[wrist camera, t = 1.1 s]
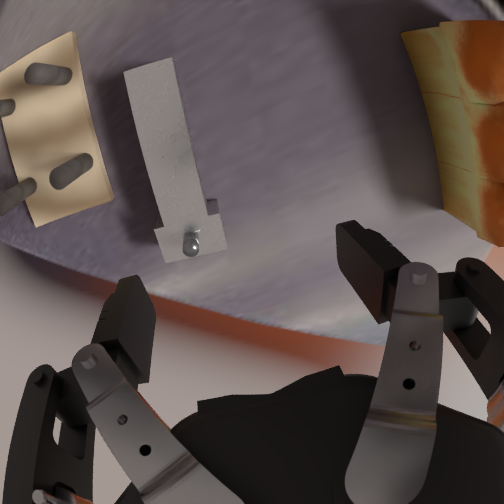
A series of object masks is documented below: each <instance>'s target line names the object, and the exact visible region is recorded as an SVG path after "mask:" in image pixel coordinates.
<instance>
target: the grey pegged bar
mask: <svg viewBox="0 0 504 504" xmlns="http://www.w3.org/2000/svg"><path fill="white" fill-rule="evenodd" d="M124 77H125V81H126V86H127V91H128V95H129V100H130V104H131V109H132V113H133V117H134V121H135V125H136V130H137V134H138V137H139V141H140V145H141V149H142V153H143V157H144V160H145V164H146V167H147V171H148V175H149V178H150V182H151V185H152V188H153V192H154V195H155V198H156V202H157V205H158V208H159V212H160V213H159V216H158V218H157V221H156V224H155V227H154V231H155V234H156V237H157V240H158V243H159V246H160V249H161V251H162V254H163V257H164V260H165V263H170V262H174V261H178V260H183V259H187V258H191V257H195V256H199V255H204V254H208V253H212V252H217V251H221V250H225V249H228V247H227V242H226V236H225V231H224V227H223V223H222V218H221V214H220V210H219V206H218V201H217V199H215V200H211V201H207V199H206V195H205V191H204V187H203V182H202V178H201V174H200V170H199V166H198V161H197V157H196V153H195V148H194V144H193V140H192V135H191V131H190V126H189V122H188V117H187V113H186V108H185V104H184V99H183V94H182V89H181V85H180V80H179V75H178V70H177V65H176V63H175V61H174V60H173V58H172V57H171V58H167V59H164V60H160V61H157V62H153V63H150V64H146V65H143V66H140V67H137V68H134V69H131V70H128V71H125V72H124Z"/></svg>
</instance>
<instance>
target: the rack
mask: <svg viewBox="0 0 504 504" xmlns="http://www.w3.org/2000/svg"><path fill="white" fill-rule="evenodd" d="M0 117H2V122H3V127H4V131H5V135H6V139H7V143H8V147H9V151H10V155H11V158H12V162H13V165H14V168H15V172H16V175H17V178H18V181H19V183H18V184H16V185H15V186H13V187H12V188H10V189H8V190H7V191H5V192H4V193H2V194H1V195H0V216H4V215H5V214H6V213H7V212H9V211H10V210H11V209H13V208H14V207H15V206H17V205H18V204H19V203H21V202H22V201H23V200H25V201H26V204H27V206H28V209H29V212H30V214H31V217H32V219H33V222H34V224H35V227H38V226H41V225H43V224H46V223H49V222H51V221H54V220H57V219H59V218H62V217H65V216H68V215H71V214H73V213H76V212H79V211H82V210H85V209H88V208H91V207H94V206H97V205H100V204H103V203H106V202H109V201H111V200H112V199H113V198H114V194H113V191H112V188H111V185H110V182H109V179H108V175H107V172H106V169H105V166H104V162H103V159H102V155H101V152H100V148H99V145H98V141H97V137H96V133H95V130H94V126H93V122H92V118H91V113H90V109H89V105H88V100H87V96H86V91H85V86H84V81H83V76H82V70H81V65H80V59H79V53H78V46H77V39H76V33H74V32H72V31H70V32H68V33H66V34H64V35H62V36H60V37H58V38H56V39H54V40H52V41H50V42H49V43H47V44H45V45H43V46H41V47H40V48H38V49H36V50H34V51H33V52H31V53H29V54H28V55H26V56H25V57H23V58H21V59H20V60H18V61H17V62H15V63H14V64H12V65H11V66H9V67H8V68H6V69H5V70H3V71H2V72H1V73H0Z"/></svg>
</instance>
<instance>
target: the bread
mask: <svg viewBox="0 0 504 504" xmlns="http://www.w3.org/2000/svg"><path fill="white" fill-rule="evenodd" d="M400 35H401V37H402V39H403V42H404V44H405V47H406V50H407V52H408V55H409V58H410V60H411V63H412V66H413V69H414V72H415V75H416V78H417V81H418V84H419V87H420V91H421V94H422V98H423V101H424V105H425V108H426V112H427V116H428V120H429V124H430V129H431V133H432V138H433V142H434V147H435V152H436V158H437V164H438V170H439V176H440V183H441V190H442V198H443V208H444V211H446V212H448V213H449V214H451V215H452V216H454V217H455V218H457V219H459V220H460V221H462V222H463V223H465V224H466V225H468V226H469V227H471V228H472V229H474V230H475V231H476V233H477V237H478V238H480V239H483V240H485V241H487V242H489V243H492V244H494V245H496V246H498V247H504V21H498V20H467V21H448V22H440V25H439V27H432V28H426V29H419V30H413V31H408V32H402V33H400Z"/></svg>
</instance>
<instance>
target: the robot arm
mask: <svg viewBox="0 0 504 504" xmlns="http://www.w3.org/2000/svg"><path fill="white" fill-rule="evenodd" d="M336 245H337V260H338V265H339V268H340V270H341V272H342V273H343V275H344V276H345V277H346V279H347V280H348V282H349V283H350V284H351V286H352V287H353V289H354V290H355V291H356V293H357V294H358V296H359V297H360V298H361V300H362V301H363V303H364V304H365V306H366V307H367V309H368V310H369V311H370V313H371V314H372V316H373V317H374V319H375V320H376V322H377V323H378V325H379V324H381V323H384V322H386V321H389V322H390V328H389V333H388V338H387V342H386V347H385V352H384V356H383V360H382V364H381V368H380V372H379V376H378V378H377V377H374V376H369V375H363V374H345V375H344V374H343V372H342V370H341V368H340V366H339V365H338V366H335V367H332V368H329V369H326V370H324V371H320V372H317V373H314V374H310V375H307V376H305V377H303V378H301V379H299V380H297V381H295V382H293V383H292V384H290V385H288V386H286V387H284V388H282V389H280V390H278V391H276V392H274V393H271V394H261V395H228V396H223V397H218V398H213V399H207V400H201V401H197V403H198V404H197V405H198V412H196V413H193V414H191V415H190V416H188V417H186V418H185V419H183V420H181V421H180V422H179V423H178V424H176V425H175V426H174V427H173V428H172V429H170V428H169V426H167V424H166V423H165V422H164V421H163V420H162V419H161V418H160V417H159V416H158V414H157V413H156V412H155V411H154V410H153V409H152V407H151V406H150V405H149V404H148V403H147V402H146V400H145V399H144V398H143V397H142V396H141V394H140V393H139V392H138V391H137V389H138V384H142V383H148V382H149V376H150V366H151V355H152V347H153V338H154V330H155V323H156V313H155V309H154V306H153V303H152V302H151V299H150V297H149V295H148V293H147V291H146V289H145V287H144V285H143V283H142V281H141V279H140V277H139V276H138V275H134V276H130V277H126V278H122V279H120V280H119V282H118V284H117V287H116V290H115V293H112V294H111V295H110V296H109V298H108V299H107V300H106V301H105V303H104V305H103V308H102V311H101V314H100V317H99V321H98V323H97V326H96V329H95V332H94V335H93V338H92V341H91V344H90V345H87V346H85V347H83V348H82V349H80V350H79V351H78V352H77V353H76V355H75V356H74V358H73V360H72V367H69V368H67V369H65V370H63V371H60V372H58V373H57V372H56V371H55V370H54V369H53V368H52V366H50V365H47V364H45V365H41V366H39V367H37V368H36V369H35V370H34V371H33V372H32V373H31V374H30V376H29V378H28V380H27V383H26V386H25V389H24V393H23V396H22V399H21V403H20V407H19V410H18V414H17V418H16V422H15V426H14V430H13V435H12V440H11V444H10V449H9V455H8V461H7V467H6V474H5V482H4V491H3V502H2V504H93V499H92V498H93V495H92V494H93V493H92V491H93V490H92V489H93V483H92V482H93V457H94V441H95V429H96V427H97V429H98V431H99V433H100V434H101V436H102V437H103V439H104V441H105V443H106V444H107V446H108V447H109V449H110V450H111V452H112V454H113V455H114V456H115V458H116V460H117V461H118V463H119V464H120V465H121V467H122V468H123V470H124V471H125V473H126V474H127V476H128V477H129V478H130V480H131V481H132V482H131V483H130V484H129V486H128V487H127V488H126V490H125V491H124V492H123V493H122V495H121V496H120V497H119V498H118V500H117V501H116V502H115V503H114V504H504V281H503V280H502V279H501V278H500V277H499V276H498V275H497V274H496V273H495V272H494V271H493V270H492V269H491V268H490V267H489V266H488V265H486V264H485V263H484V262H483V261H481V260H479V259H476V258H469V257H467V258H462V259H460V260H459V261H458V262H457V265H456V269H455V272H446V273H437V271H436V270H435V269H434V268H433V267H431V266H430V265H428V264H425V263H421V262H410V261H409V260H408V259H407V258H406V257H405V256H404V255H403V254H402V253H401V252H400V251H399V250H398V249H397V248H395V247H394V246H393V245H392V244H391V243H390V242H389V241H387V239H386V238H384V237H383V236H382V235H381V234H380V233H378V232H376V231H373V230H371V229H364V228H363V227H362V226H361V225H360V224H359V223H358V222H357V221H355V220H351V221H347V222H343V223H339V224H337V225H336ZM478 311H479V312H480V313H481V314H482V315H483V316H484V317H485V319H486V320H487V321H488V323H489V324H490V327H491V335H490V333H489V332H488V331H487V330H486V328H485V327H484V326H483V325H482V323H481V322H480V321H479V320H478V318H477V317H476V316H477V314H478ZM443 332H444V333H445V335H446V336H447V337H448V339H449V340H450V342H451V343H452V345H453V346H454V348H455V349H456V351H457V352H458V353H459V355H460V356H461V358H462V359H463V361H464V362H465V364H466V365H467V367H468V369H469V370H470V371H471V373H472V375H473V376H474V378H475V380H476V381H477V383H478V384H479V386H480V387H481V389H482V391H483V393H484V394H485V396H486V398H487V399H488V404H487V412H488V417H487V422H486V421H483V420H480V419H477V418H475V417H472V416H469V415H467V414H464V413H462V412H459V411H456V410H454V409H451V408H449V407H446V406H444V405H441V404H438V395H439V387H440V378H441V367H442V351H443ZM55 417H57V418H58V419H59V420H60V421H62V423H61V430H60V437H59V443H58V445H57V444H56V442H55V441H54V438H53V428H54V422H55Z"/></svg>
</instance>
